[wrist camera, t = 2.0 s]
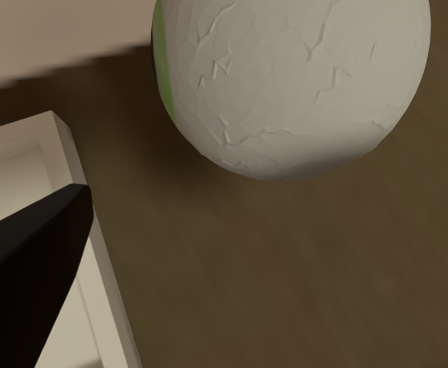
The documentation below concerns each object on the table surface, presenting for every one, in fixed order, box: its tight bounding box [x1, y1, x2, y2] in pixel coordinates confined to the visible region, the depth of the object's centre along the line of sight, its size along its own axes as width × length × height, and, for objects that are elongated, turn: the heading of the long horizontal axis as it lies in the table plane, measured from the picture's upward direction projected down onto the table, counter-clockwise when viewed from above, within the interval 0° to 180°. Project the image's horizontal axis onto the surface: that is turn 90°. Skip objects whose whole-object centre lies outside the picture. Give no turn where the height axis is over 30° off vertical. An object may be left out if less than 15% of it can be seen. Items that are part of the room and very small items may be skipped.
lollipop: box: [151, 0, 431, 182], centre depth 14 cm, size 7×7×15 cm
